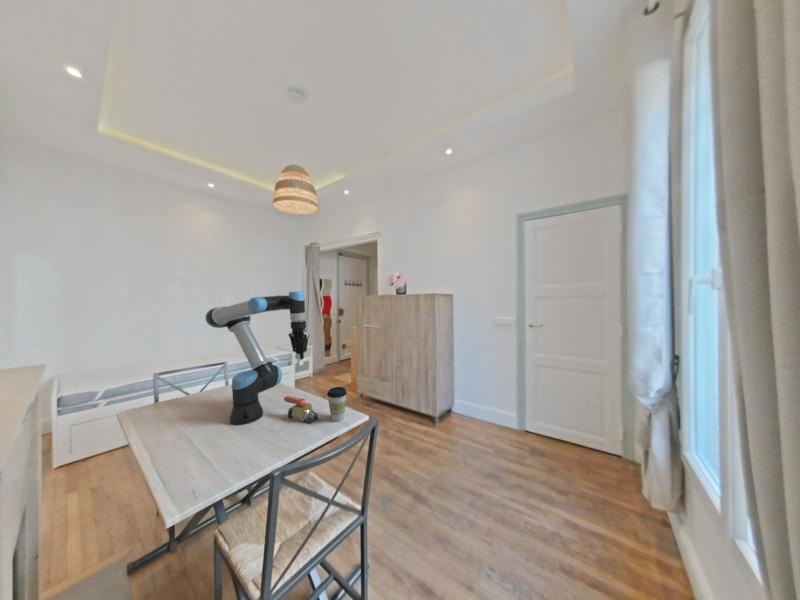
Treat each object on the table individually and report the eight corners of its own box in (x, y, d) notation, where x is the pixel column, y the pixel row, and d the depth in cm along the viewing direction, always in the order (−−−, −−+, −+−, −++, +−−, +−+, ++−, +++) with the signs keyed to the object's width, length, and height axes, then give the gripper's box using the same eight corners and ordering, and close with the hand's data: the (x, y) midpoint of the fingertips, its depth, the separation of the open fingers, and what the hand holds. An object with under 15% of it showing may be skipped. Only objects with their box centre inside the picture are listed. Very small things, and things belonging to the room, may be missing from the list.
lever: (306, 404, 141) (306, 398, 141) (302, 406, 138) (302, 401, 138) (287, 399, 147) (287, 394, 147) (282, 402, 144) (282, 396, 144)
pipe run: (287, 419, 141) (286, 404, 141) (295, 413, 147) (295, 400, 146) (310, 425, 135) (309, 410, 134) (318, 419, 140) (318, 405, 139)
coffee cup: (343, 424, 134) (342, 394, 133) (324, 422, 136) (323, 393, 135) (350, 414, 144) (349, 387, 143) (333, 413, 145) (332, 385, 145)
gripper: (283, 321, 142) (286, 365, 143) (301, 322, 136) (304, 368, 138) (294, 319, 149) (297, 361, 150) (312, 320, 143) (314, 364, 144)
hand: (300, 365), depth 144 cm, fingers closed
